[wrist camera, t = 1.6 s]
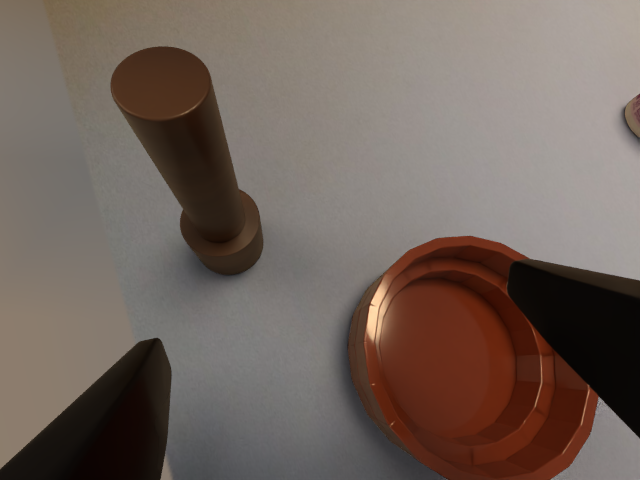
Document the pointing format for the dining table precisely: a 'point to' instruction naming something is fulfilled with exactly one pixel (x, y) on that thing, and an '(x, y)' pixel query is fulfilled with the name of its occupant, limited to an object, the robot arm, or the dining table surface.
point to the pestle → (190, 153)
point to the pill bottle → (633, 115)
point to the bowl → (465, 368)
